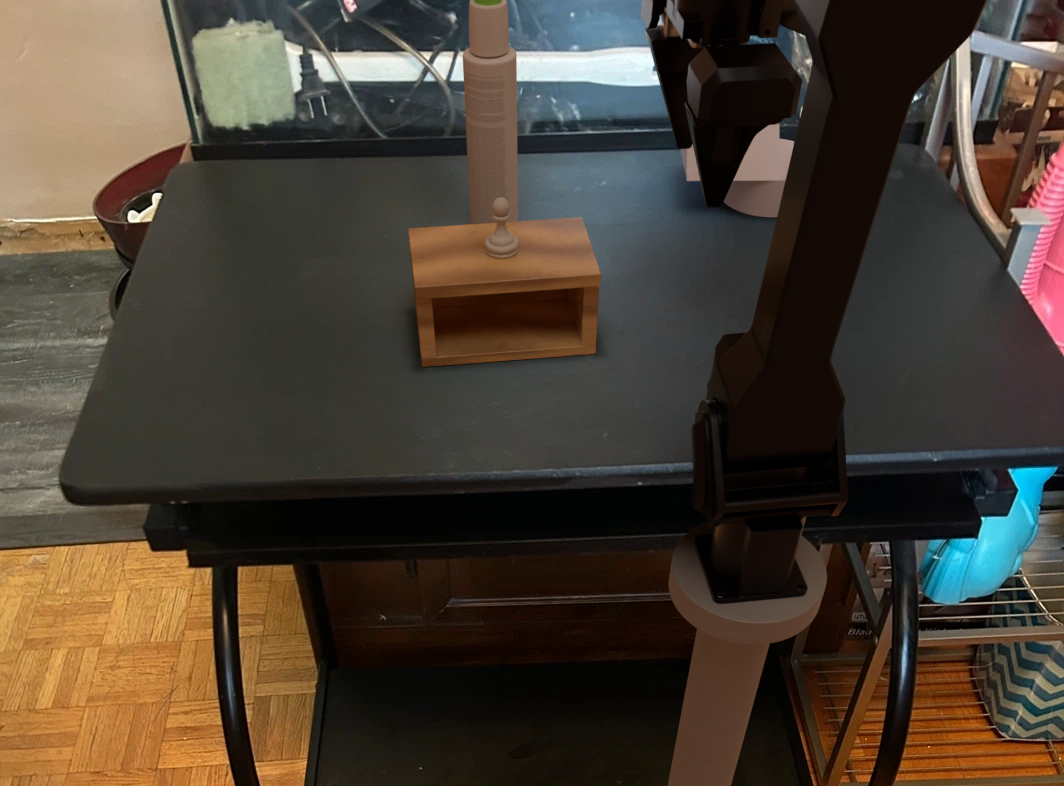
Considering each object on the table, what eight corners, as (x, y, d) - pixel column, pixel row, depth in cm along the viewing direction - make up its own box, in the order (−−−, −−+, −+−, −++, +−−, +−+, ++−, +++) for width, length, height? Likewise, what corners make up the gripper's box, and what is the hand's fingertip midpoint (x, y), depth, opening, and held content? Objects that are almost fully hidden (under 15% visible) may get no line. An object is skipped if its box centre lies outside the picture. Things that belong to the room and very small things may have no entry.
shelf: (596, 357, 82) (601, 274, 77) (422, 370, 81) (414, 287, 76) (578, 298, 88) (582, 216, 82) (415, 310, 87) (407, 228, 81)
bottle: (526, 243, 94) (525, -16, 78) (482, 253, 92) (471, -7, 77) (507, 222, 96) (502, -33, 80) (464, 231, 95) (450, -25, 79)
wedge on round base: (682, 217, 96) (820, 217, 96) (691, 141, 91) (837, 141, 91) (674, 174, 102) (804, 173, 102) (682, 100, 97) (819, 99, 97)
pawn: (479, 247, 79) (476, 195, 76) (508, 239, 80) (507, 186, 77) (495, 262, 78) (493, 209, 75) (524, 254, 78) (524, 201, 75)
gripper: (918, -51, 56) (848, 232, 68) (816, -142, 67) (772, 115, 80) (719, -42, 55) (684, 243, 67) (650, -135, 67) (631, 123, 79)
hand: (698, 176), depth 73 cm, fingers open, 9 cm apart
